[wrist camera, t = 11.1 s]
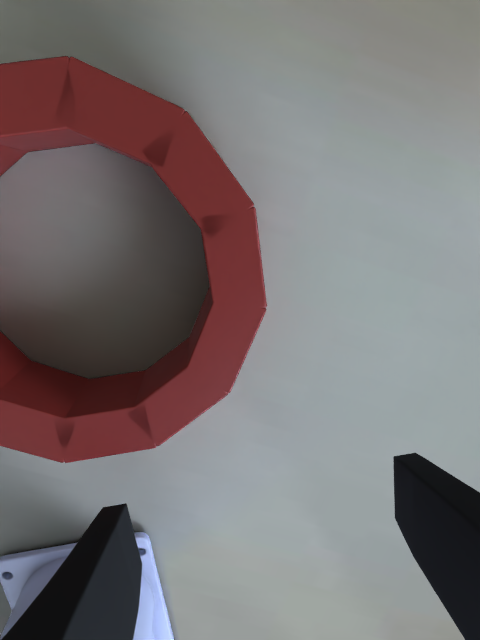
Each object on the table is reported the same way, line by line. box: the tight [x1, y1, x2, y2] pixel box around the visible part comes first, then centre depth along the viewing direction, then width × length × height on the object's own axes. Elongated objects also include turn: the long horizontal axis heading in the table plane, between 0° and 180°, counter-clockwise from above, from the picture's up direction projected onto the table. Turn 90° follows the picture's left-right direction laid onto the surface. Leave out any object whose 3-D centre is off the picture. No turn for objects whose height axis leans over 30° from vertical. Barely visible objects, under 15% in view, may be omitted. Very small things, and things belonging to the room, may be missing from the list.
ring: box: [0, 56, 267, 463], centre depth 16 cm, size 14×14×4 cm
